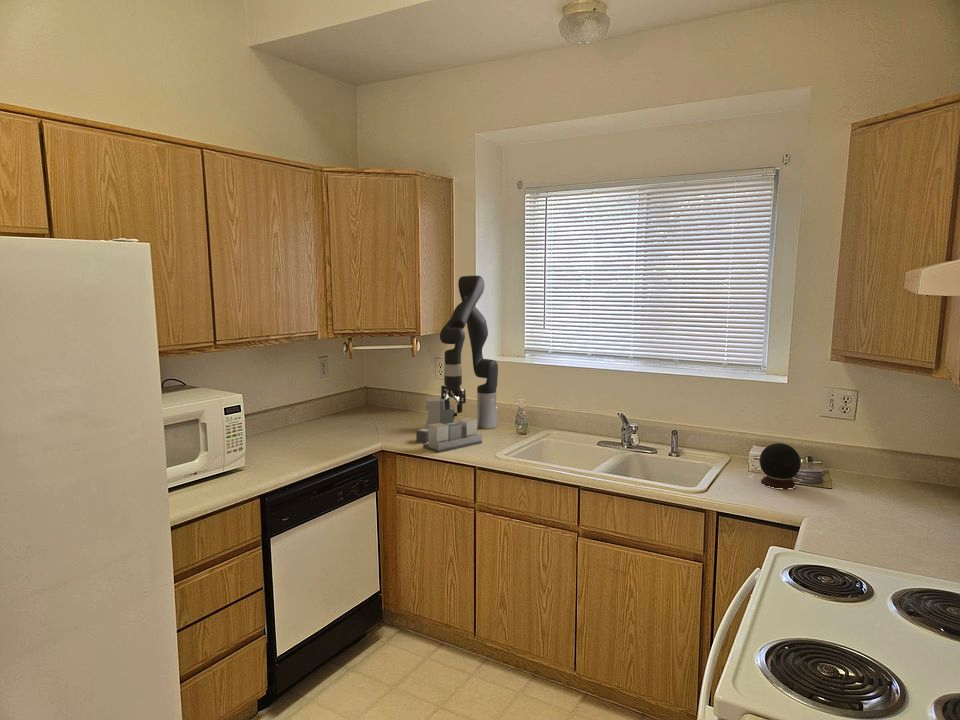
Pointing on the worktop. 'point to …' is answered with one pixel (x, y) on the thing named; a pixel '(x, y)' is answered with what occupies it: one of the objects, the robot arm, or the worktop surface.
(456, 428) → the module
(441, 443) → the grey slotted holder
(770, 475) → the black ball on stand
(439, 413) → the circuit breaker
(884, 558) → the worktop surface
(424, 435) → the block
